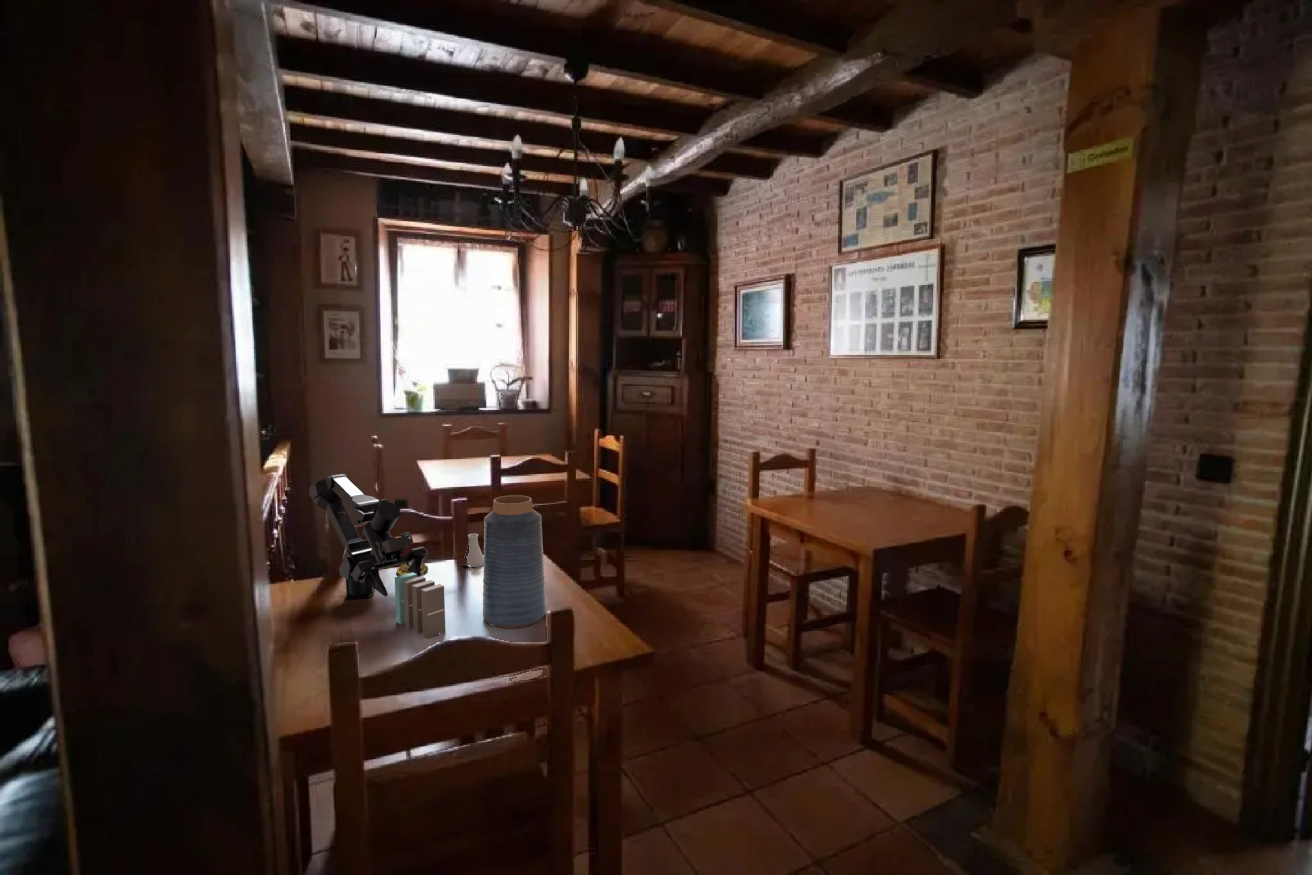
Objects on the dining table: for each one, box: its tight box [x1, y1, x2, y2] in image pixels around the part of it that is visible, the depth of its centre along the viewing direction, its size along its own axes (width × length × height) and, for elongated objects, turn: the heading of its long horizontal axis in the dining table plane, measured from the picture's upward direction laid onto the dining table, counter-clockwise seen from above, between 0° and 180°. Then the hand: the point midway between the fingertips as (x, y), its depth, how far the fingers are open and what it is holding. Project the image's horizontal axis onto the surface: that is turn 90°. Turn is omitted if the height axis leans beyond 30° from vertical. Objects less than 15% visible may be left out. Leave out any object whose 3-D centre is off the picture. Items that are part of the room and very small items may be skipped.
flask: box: [466, 533, 484, 569], centre depth 212 cm, size 7×7×10 cm
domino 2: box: [412, 579, 436, 635], centre depth 163 cm, size 2×5×12 cm, turn 140°
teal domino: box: [394, 572, 417, 625], centre depth 168 cm, size 2×5×12 cm, turn 141°
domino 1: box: [403, 576, 427, 630], centre depth 166 cm, size 2×5×12 cm, turn 140°
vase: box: [482, 494, 547, 629], centre depth 170 cm, size 16×16×32 cm
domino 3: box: [421, 583, 446, 639], centre depth 160 cm, size 2×5×12 cm, turn 140°
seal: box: [396, 562, 429, 577], centre depth 206 cm, size 9×5×15 cm
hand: (403, 590), depth 169 cm, fingers open, 9 cm apart
